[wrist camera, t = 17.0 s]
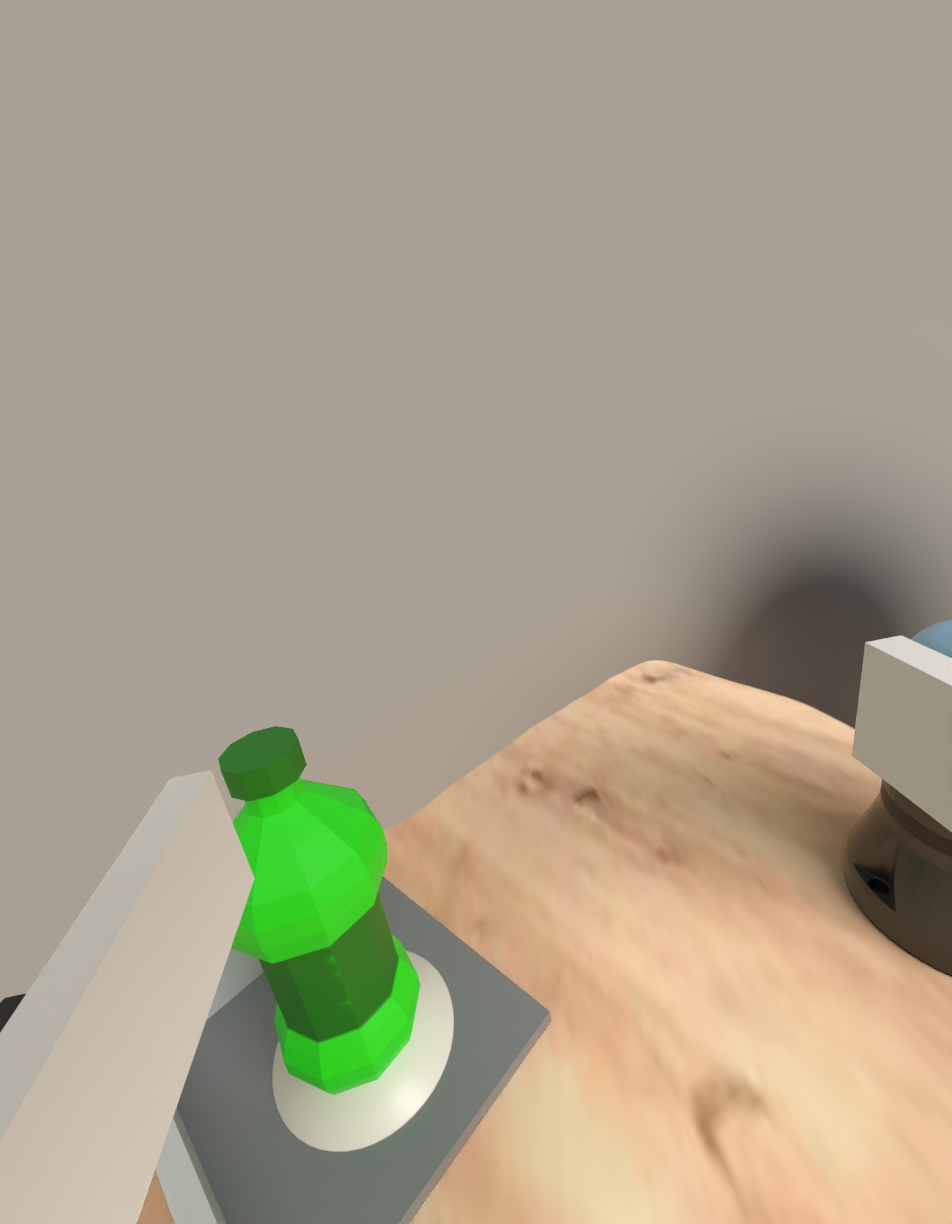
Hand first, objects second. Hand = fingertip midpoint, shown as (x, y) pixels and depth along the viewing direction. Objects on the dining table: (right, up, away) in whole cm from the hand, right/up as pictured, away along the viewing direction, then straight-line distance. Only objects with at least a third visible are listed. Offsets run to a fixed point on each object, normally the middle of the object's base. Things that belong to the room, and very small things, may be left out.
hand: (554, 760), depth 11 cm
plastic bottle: (-10, -28, +28) cm, 40 cm away
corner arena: (-12, -29, +28) cm, 42 cm away
